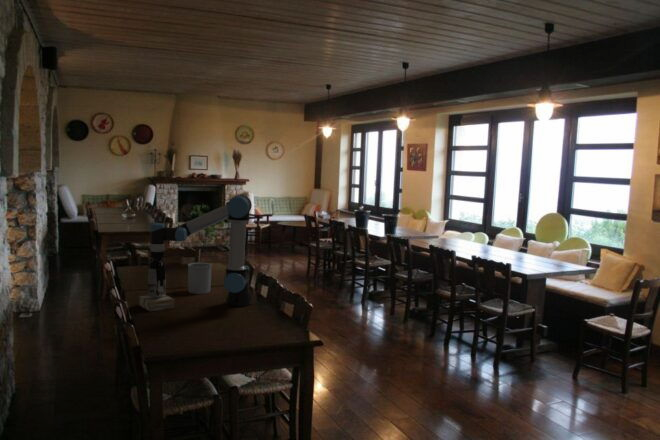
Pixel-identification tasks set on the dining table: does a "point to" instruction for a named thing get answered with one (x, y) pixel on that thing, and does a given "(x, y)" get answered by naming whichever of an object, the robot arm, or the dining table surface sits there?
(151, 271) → the coffee box
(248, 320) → the dining table surface
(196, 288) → the utensil holder
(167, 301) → the dock
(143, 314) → the dining table surface
